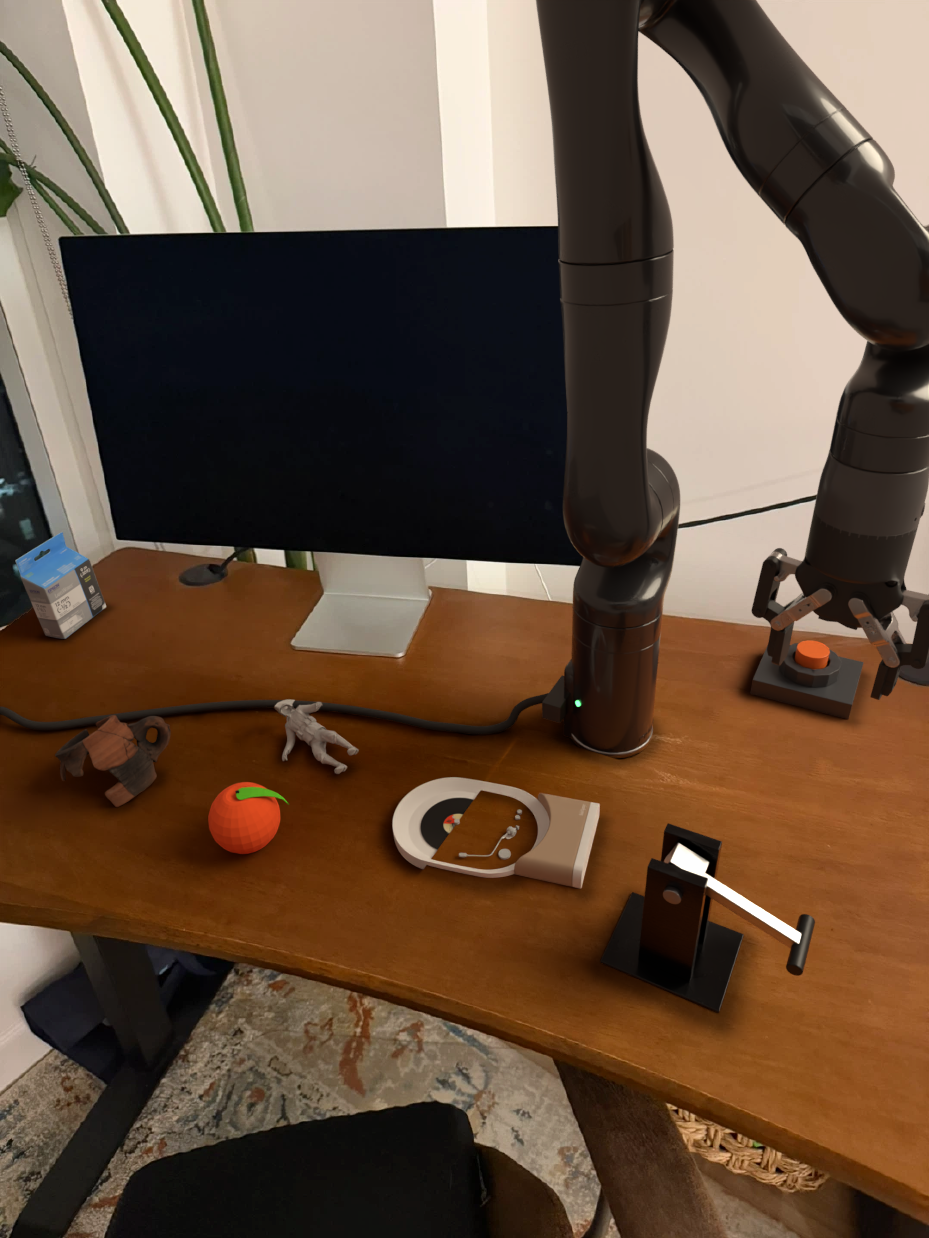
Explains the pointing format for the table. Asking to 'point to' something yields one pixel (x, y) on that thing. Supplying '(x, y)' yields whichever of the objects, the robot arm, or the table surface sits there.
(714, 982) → the bracket
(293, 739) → the soldier figure
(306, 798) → the table surface
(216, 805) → the clementine
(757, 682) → the button box
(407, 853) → the record player
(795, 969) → the lever
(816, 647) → the button
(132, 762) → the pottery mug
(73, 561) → the label tape box
